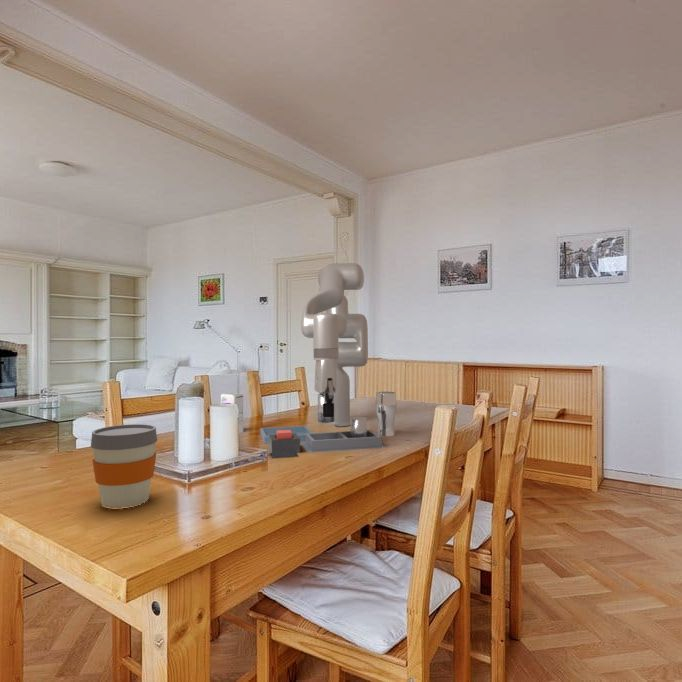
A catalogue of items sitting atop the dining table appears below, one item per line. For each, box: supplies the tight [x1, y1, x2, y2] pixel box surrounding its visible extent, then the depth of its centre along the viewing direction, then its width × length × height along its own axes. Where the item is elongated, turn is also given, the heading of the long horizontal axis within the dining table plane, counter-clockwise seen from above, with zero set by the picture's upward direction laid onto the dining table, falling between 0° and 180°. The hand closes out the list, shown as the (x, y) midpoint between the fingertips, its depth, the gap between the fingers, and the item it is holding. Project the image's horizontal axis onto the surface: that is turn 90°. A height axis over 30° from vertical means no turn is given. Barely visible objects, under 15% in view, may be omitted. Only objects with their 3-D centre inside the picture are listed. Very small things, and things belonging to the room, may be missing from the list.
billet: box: [317, 393, 335, 423], centre depth 145 cm, size 5×5×8 cm
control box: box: [268, 433, 301, 459], centre depth 140 cm, size 8×8×5 cm
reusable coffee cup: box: [90, 423, 158, 508], centre depth 100 cm, size 13×13×15 cm
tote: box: [259, 425, 313, 445], centre depth 159 cm, size 16×16×3 cm
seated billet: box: [349, 416, 368, 438], centre depth 148 cm, size 5×5×8 cm
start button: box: [276, 430, 292, 439], centre depth 140 cm, size 4×4×3 cm
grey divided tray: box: [300, 429, 388, 454], centre depth 147 cm, size 13×24×4 cm, turn 104°
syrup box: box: [220, 392, 244, 435], centre depth 166 cm, size 6×6×14 cm
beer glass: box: [375, 390, 397, 437], centre depth 163 cm, size 7×7×15 cm
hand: (326, 414), depth 145 cm, fingers closed on billet, 5 cm apart
